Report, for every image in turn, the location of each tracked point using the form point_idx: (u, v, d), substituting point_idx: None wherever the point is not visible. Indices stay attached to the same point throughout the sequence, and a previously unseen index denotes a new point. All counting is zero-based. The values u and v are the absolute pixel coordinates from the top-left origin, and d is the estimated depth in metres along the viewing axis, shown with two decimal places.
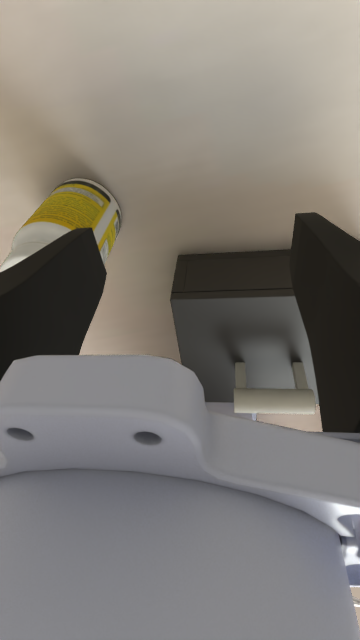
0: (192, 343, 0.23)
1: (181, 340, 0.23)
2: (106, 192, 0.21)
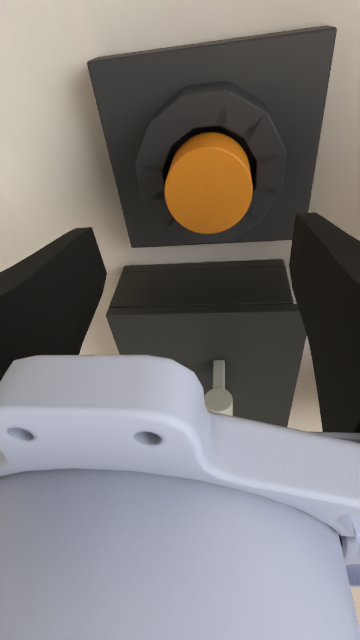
0: None
1: None
2: None
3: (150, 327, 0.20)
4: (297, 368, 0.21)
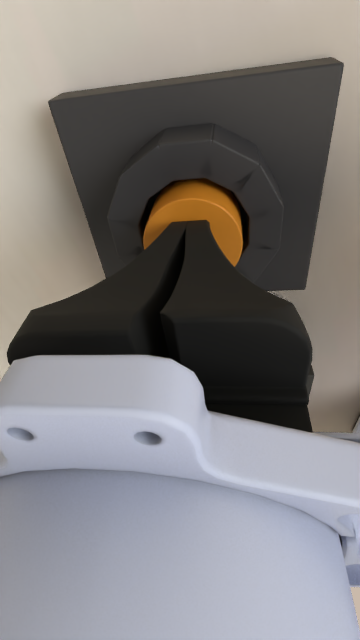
0: None
1: None
2: None
3: None
4: None
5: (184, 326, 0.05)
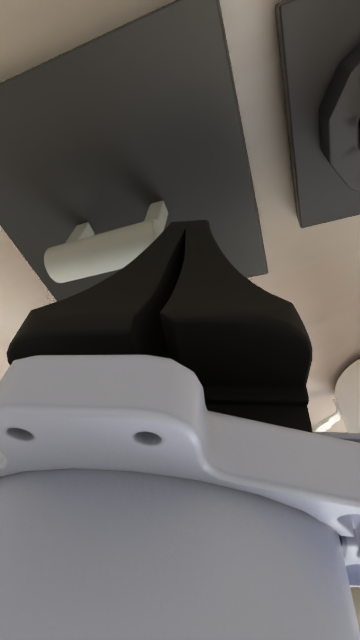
0: (3, 202, 0.16)
1: None
2: None
3: (203, 86, 0.12)
4: None
5: (184, 326, 0.05)
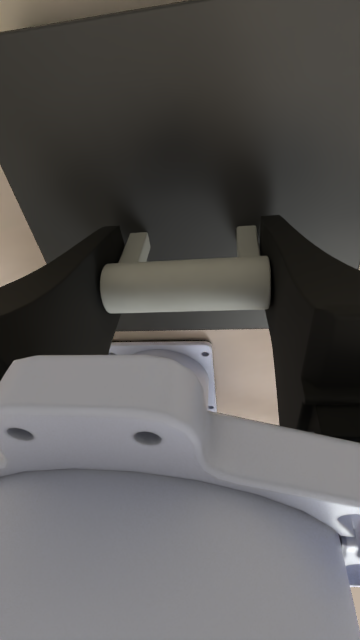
0: (37, 184, 0.12)
1: (13, 178, 0.12)
2: None
3: None
4: (233, 327, 0.16)
5: (346, 323, 0.05)
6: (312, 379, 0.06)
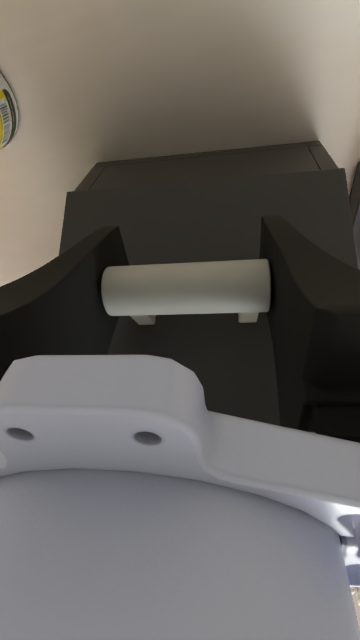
0: None
1: None
2: None
3: (324, 220, 0.14)
4: None
5: (348, 323, 0.05)
6: (314, 379, 0.06)
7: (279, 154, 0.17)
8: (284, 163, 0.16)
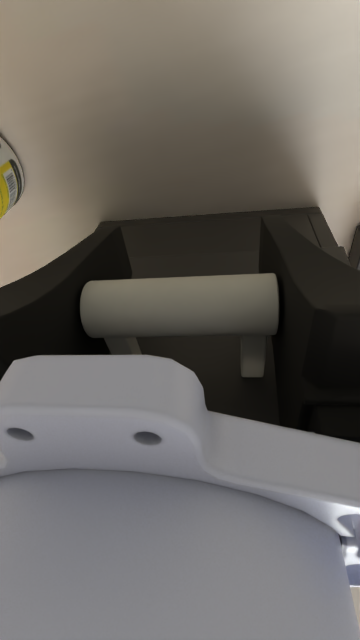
0: None
1: None
2: None
3: None
4: None
5: (346, 323, 0.05)
6: (312, 379, 0.06)
7: None
8: None
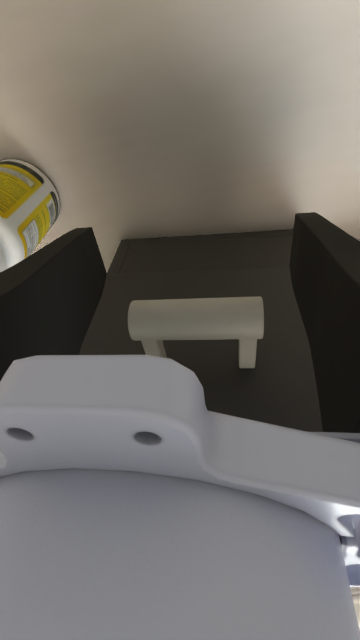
0: (103, 324, 0.17)
1: None
2: (39, 173, 0.21)
3: None
4: None
5: None
6: None
7: (271, 243, 0.21)
8: (275, 254, 0.20)
